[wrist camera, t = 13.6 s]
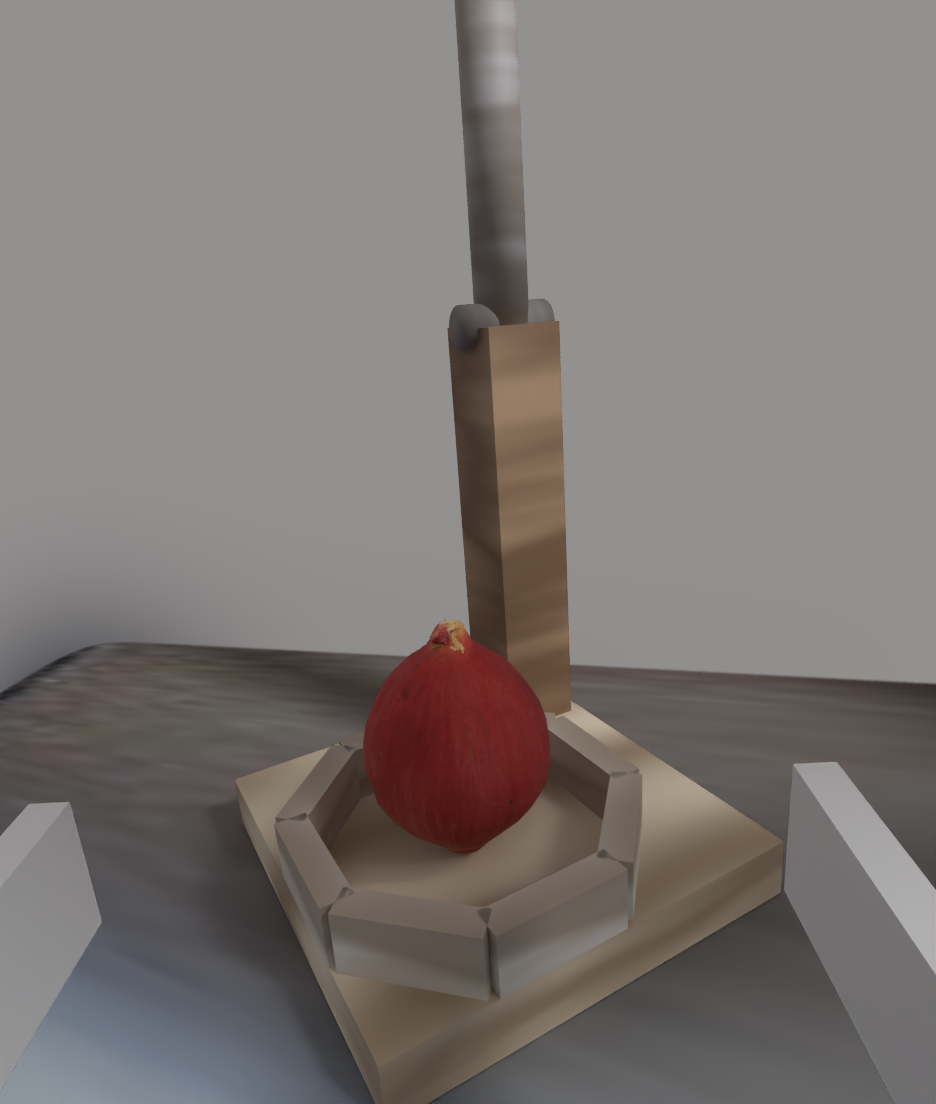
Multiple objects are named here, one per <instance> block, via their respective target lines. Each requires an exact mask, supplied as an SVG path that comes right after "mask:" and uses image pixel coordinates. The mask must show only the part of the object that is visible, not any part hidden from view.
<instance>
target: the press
mask: <svg viewBox="0 0 936 1104" xmlns="http://www.w3.org/2000/svg"><path fill="white" fill-rule="evenodd" d="M455 14H456V27H457V28H456V29H457V45H458V61H459V77H460V92H461V107H462V124H463V139H464V156H465V171H466V186H467V202H468V219H469V235H470V250H471V266H472V282H473V298H474V304H467V305H457V306H455V307H454V308H453V310H452V312H451V315H450V320H449V328H448V340H449V354H450V367H451V380H452V394H453V406H454V407H453V408H454V421H455V434H456V448H457V460H458V475H459V488H460V502H461V515H462V528H463V543H464V555H465V570H466V583H467V597H468V610H469V624H470V637H471V639H472V640H473V641H474V642H477V643H479V644H481V645H483V646H485V647H486V648H488V649H490V650H492V651H494V652H495V653H497V654H499V655H501V656H502V657H503V658H504V659H506V660H507V661H508V662H509V663H511V665H512V666H513V667H514V668H515V669H516V670H517V671H518V672H519V673H520V674H521V675H522V677H523V678H524V679H525V680H526V682H527V683H528V684H529V685H530V687H531V688H532V690H533V691H534V693H535V694H536V696H537V697H538V699H539V700H540V703H541V705H542V708H543V711H544V714H545V716H546V719H547V726H548V733H549V739H550V765H549V770H548V775H547V780H546V785H545V787H544V789H543V791H542V792H541V794H540V795H539V797H538V798H537V800H536V801H535V803H534V804H533V806H532V807H531V808H530V809H529V811H528V812H527V813H526V814H525V815H524V816H523V817H522V818H521V819H520V820H519V821H518V822H517V823H515V824H514V825H512V826H511V827H510V828H508V829H507V830H505V831H504V832H502V833H501V834H500V835H498V836H497V837H495V838H494V839H492V840H491V841H489V842H488V843H487V844H486V845H484V846H483V847H482V848H481V849H479V850H478V851H476V852H473V853H469V854H455V853H453V852H451V851H449V850H447V849H446V848H445V847H443V846H439V845H436V844H433V843H430V842H427V841H424V840H421V839H419V838H417V837H415V836H413V835H411V834H409V833H408V832H406V831H405V830H404V829H402V828H401V827H400V826H398V825H397V824H396V823H394V822H393V821H392V820H391V819H390V818H389V816H388V815H387V814H386V813H385V812H384V811H383V809H382V808H381V807H380V806H379V805H378V802H377V799H376V796H375V794H374V791H373V788H372V785H371V782H370V780H369V777H368V774H367V772H366V769H365V766H364V754H363V739H364V733H365V732H362V733H359V734H356V735H353V736H350V737H347V738H344V739H341V740H339V744H337V745H331V746H330V747H328V748H325V749H322V750H319V751H316V752H313V753H310V754H307V755H304V756H301V757H299V758H296V759H293V760H290V761H287V762H284V763H281V764H278V765H275V766H272V767H269V768H266V769H263V770H261V771H258V772H255V773H252V774H249V775H246V776H243V777H240V778H237V779H235V785H236V790H237V795H238V800H239V806H240V811H241V816H242V822H243V824H244V827H245V829H246V831H247V833H248V835H249V837H250V839H251V841H252V844H253V846H254V848H255V850H256V852H257V854H258V856H259V858H260V860H261V863H262V865H263V867H264V869H265V871H266V873H267V875H268V877H269V880H270V882H271V884H272V886H273V888H274V890H275V892H276V894H277V896H278V899H279V901H280V903H281V905H282V907H283V909H284V911H285V913H286V916H287V918H288V920H289V922H290V924H291V926H292V928H293V930H294V932H295V935H296V937H297V939H298V941H299V943H300V945H301V947H302V949H303V952H304V954H305V956H306V958H307V960H308V962H309V964H310V966H311V968H312V971H313V973H314V975H315V977H316V979H317V981H318V983H319V985H320V988H321V990H322V992H323V994H324V996H325V998H326V1000H327V1002H328V1004H329V1007H330V1009H331V1011H332V1013H333V1015H334V1017H335V1019H336V1021H337V1024H338V1026H339V1028H340V1030H341V1032H342V1034H343V1036H344V1038H345V1040H346V1043H347V1045H348V1047H349V1049H350V1051H351V1053H352V1055H353V1057H354V1060H355V1062H356V1064H357V1066H358V1068H359V1070H360V1072H361V1074H362V1076H363V1079H364V1081H365V1083H366V1085H367V1087H368V1089H369V1091H370V1093H371V1096H372V1098H373V1100H374V1102H375V1104H428V1103H430V1102H431V1101H433V1100H435V1099H436V1098H438V1097H440V1096H441V1095H443V1094H445V1093H446V1092H448V1091H450V1090H451V1089H453V1088H455V1087H456V1086H458V1085H460V1084H461V1083H463V1082H465V1081H466V1080H468V1079H470V1078H471V1077H473V1076H475V1075H476V1074H478V1073H480V1072H481V1071H483V1070H485V1069H486V1068H488V1067H490V1066H491V1065H493V1064H495V1063H497V1062H498V1061H500V1060H502V1059H503V1058H505V1057H507V1056H508V1055H510V1054H512V1053H513V1052H515V1051H517V1050H518V1049H520V1048H522V1047H523V1046H525V1045H527V1044H528V1043H530V1042H532V1041H533V1040H535V1039H537V1038H538V1037H540V1036H542V1035H543V1034H545V1033H547V1032H548V1031H550V1030H552V1029H553V1028H555V1027H557V1026H558V1025H560V1024H562V1023H563V1022H565V1021H567V1020H568V1019H570V1018H572V1017H573V1016H575V1015H577V1014H578V1013H580V1012H582V1011H584V1010H585V1009H587V1008H589V1007H590V1006H592V1005H594V1004H595V1003H597V1002H599V1001H600V1000H602V999H604V998H605V997H607V996H609V995H610V994H612V993H614V992H615V991H617V990H619V989H620V988H622V987H624V986H625V985H627V984H629V983H630V982H632V981H634V980H635V979H637V978H639V977H640V976H642V975H644V974H645V973H647V972H649V971H650V970H652V969H654V968H655V967H657V966H659V965H660V964H662V963H664V962H665V961H667V960H669V959H671V958H672V957H674V956H676V955H677V954H679V953H681V952H682V951H684V950H686V949H687V948H689V947H691V946H692V945H694V944H696V943H697V942H699V941H701V940H702V939H704V938H706V937H707V936H709V935H711V934H712V933H714V932H716V931H717V930H719V929H721V928H722V927H724V926H726V925H727V924H729V923H731V922H732V921H734V920H736V919H737V918H739V917H741V916H742V915H744V914H746V913H747V912H749V911H751V910H753V909H754V908H756V907H758V906H759V905H761V904H763V903H764V902H766V901H768V900H769V899H771V898H773V897H774V896H776V895H778V894H779V893H781V881H782V867H783V852H784V841H783V840H781V839H780V838H778V837H777V836H775V835H774V834H772V833H771V832H769V831H768V830H766V829H765V828H763V827H762V826H760V825H759V824H757V823H756V822H754V821H752V820H751V819H749V818H748V817H746V816H745V815H743V814H742V813H740V812H739V811H737V810H736V809H734V808H733V807H731V806H730V805H728V804H727V803H725V802H724V801H722V800H721V799H719V798H718V797H716V796H715V795H713V794H712V793H710V792H709V791H707V790H705V789H704V788H702V787H701V786H699V785H698V784H696V783H695V782H693V781H692V780H690V779H689V778H687V777H686V776H684V775H683V774H681V773H680V772H678V771H677V770H675V769H674V768H672V767H671V766H669V765H668V764H666V763H665V762H663V761H662V760H660V759H659V758H657V757H655V756H654V755H652V754H651V753H649V752H648V751H646V750H645V749H643V748H642V747H640V746H639V745H637V744H636V743H634V742H633V741H631V740H630V739H628V738H627V737H625V736H624V735H622V734H621V733H619V732H618V731H616V730H615V729H613V728H612V727H610V726H608V725H607V724H605V723H604V722H602V721H601V720H599V719H598V718H596V717H595V716H593V715H592V714H590V713H589V712H587V711H586V710H584V709H583V708H581V707H580V706H578V705H577V704H575V703H574V702H572V701H571V689H570V657H569V625H568V595H567V594H568V592H567V560H566V531H565V530H566V528H565V496H564V464H563V432H562V431H563V430H562V400H561V368H560V367H561V366H560V333H559V321H554V313H553V309H552V307H551V305H550V304H549V302H548V301H546V300H545V299H533V300H528V284H527V283H528V282H527V260H526V235H525V212H524V189H523V165H522V142H521V118H520V95H519V73H518V72H519V70H518V49H517V48H518V47H517V24H516V0H455Z"/></svg>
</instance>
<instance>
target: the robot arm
mask: <svg viewBox="0 0 936 1104" xmlns="http://www.w3.org/2000/svg"><path fill="white" fill-rule="evenodd" d="M784 891H785V893H786V895H787V897H788V899H789V901H790V903H791V904H792V906H793V908H794V910H795V912H796V914H797V916H798V918H799V920H800V922H801V924H802V926H803V928H804V930H805V931H806V933H807V935H808V937H809V939H810V941H811V943H812V945H813V947H814V949H815V951H816V953H817V955H818V957H819V958H820V960H821V962H822V964H823V966H824V968H825V970H826V972H827V974H828V976H829V978H830V980H831V982H832V983H833V985H834V987H835V989H836V991H837V993H838V995H839V997H840V999H841V1001H842V1003H843V1005H844V1007H845V1009H846V1010H847V1012H848V1014H849V1016H850V1018H851V1020H852V1022H853V1024H854V1026H855V1028H856V1030H857V1032H858V1034H859V1036H860V1037H861V1039H862V1041H863V1043H864V1045H865V1047H866V1049H867V1051H868V1053H869V1055H870V1057H871V1059H872V1061H873V1063H874V1064H875V1066H876V1068H877V1070H878V1072H879V1074H880V1076H881V1078H882V1080H883V1082H884V1084H885V1086H886V1088H887V1089H888V1091H889V1093H890V1095H891V1097H892V1099H893V1101H894V1103H895V1104H936V889H935V888H934V887H933V886H932V884H931V883H930V882H929V880H928V879H927V878H926V877H925V875H924V874H923V873H922V871H921V870H920V869H919V868H918V866H917V865H916V864H915V862H914V861H913V860H912V859H911V857H910V856H909V855H908V853H907V852H906V851H905V849H904V848H903V847H902V846H901V844H900V843H899V842H898V840H897V839H896V838H895V837H894V835H893V834H892V833H891V831H890V830H889V829H888V828H887V826H886V825H885V824H884V822H883V821H882V820H881V819H880V817H879V816H878V815H877V813H876V812H875V811H874V809H873V808H872V807H871V806H870V804H869V803H868V802H867V800H866V799H865V798H864V797H863V795H862V794H861V793H860V791H859V790H858V789H857V788H856V786H855V785H854V784H853V782H852V781H851V780H850V779H849V777H848V776H847V775H846V773H845V772H844V771H843V770H842V768H841V767H840V766H839V764H838V763H837V762H822V763H803V764H793V770H792V784H791V798H790V812H789V826H788V840H787V854H786V868H785V882H784ZM101 923H102V920H101V916H100V913H99V909H98V905H97V901H96V898H95V894H94V890H93V887H92V883H91V879H90V875H89V872H88V868H87V864H86V860H85V857H84V853H83V849H82V846H81V842H80V838H79V834H78V831H77V827H76V823H75V819H74V816H73V812H72V808H71V805H70V802H56V803H37V804H28V805H27V807H26V808H25V809H24V810H23V811H22V812H21V813H20V814H19V816H18V817H17V818H16V819H15V820H14V821H13V822H12V824H11V825H10V826H9V827H8V828H7V829H6V830H5V831H4V833H3V834H2V835H1V836H0V1091H1V1090H2V1088H3V1086H4V1085H5V1083H6V1081H7V1080H8V1078H9V1076H10V1075H11V1073H12V1071H13V1070H14V1068H15V1066H16V1065H17V1063H18V1061H19V1060H20V1058H21V1056H22V1055H23V1053H24V1051H25V1050H26V1048H27V1046H28V1045H29V1043H30V1041H31V1040H32V1038H33V1036H34V1035H35V1033H36V1031H37V1030H38V1028H39V1026H40V1025H41V1023H42V1021H43V1020H44V1018H45V1016H46V1015H47V1013H48V1011H49V1010H50V1008H51V1006H52V1005H53V1003H54V1001H55V1000H56V998H57V996H58V995H59V993H60V991H61V990H62V988H63V986H64V985H65V983H66V981H67V980H68V978H69V976H70V975H71V973H72V971H73V970H74V968H75V966H76V965H77V963H78V961H79V960H80V958H81V956H82V955H83V953H84V951H85V950H86V948H87V946H88V945H89V943H90V941H91V940H92V938H93V936H94V935H95V933H96V931H97V930H98V928H99V926H100V925H101Z"/></svg>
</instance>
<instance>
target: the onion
mask: <svg viewBox="0 0 936 1104" xmlns="http://www.w3.org/2000/svg"><path fill="white" fill-rule="evenodd" d="M363 754H364V766H365V769H366V772H367V774H368V777H369V780H370V782H371V785H372V788H373V791H374V794H375V796H376V799H377V802H378V805H379V806H380V807H381V808H382V809H383V811H384V812H385V813H386V814H387V815H388V816H389V818H390V819H391V820H392V821H393V822H394V823H396V824H397V825H398V826H400V827H401V828H402V829H404V830H405V831H406V832H408V833H409V834H411V835H413V836H415V837H417V838H419V839H421V840H424V841H427V842H430V843H433V844H436V845H439V846H443V847H445V848H446V849H447V850H449V851H451V852H453V853H455V854H469V853H473V852H476V851H478V850H479V849H481V848H482V847H483V846H484V845H486V844H487V843H488V842H489V841H491V840H492V839H494V838H495V837H497V836H498V835H500V834H501V833H502V832H504V831H505V830H507V829H508V828H510V827H511V826H512V825H514V824H515V823H517V822H518V821H519V820H520V819H521V818H522V817H523V816H524V815H525V814H526V813H527V812H528V811H529V809H530V808H531V807H532V806H533V804H534V803H535V801H536V800H537V798H538V797H539V795H540V794H541V792H542V791H543V789H544V787H545V785H546V780H547V775H548V770H549V765H550V739H549V733H548V726H547V719H546V716H545V714H544V711H543V708H542V705H541V703H540V700H539V699H538V697H537V696H536V694H535V693H534V691H533V690H532V688H531V687H530V685H529V684H528V683H527V682H526V680H525V679H524V678H523V677H522V675H521V674H520V673H519V672H518V671H517V670H516V669H515V668H514V667H513V666H512V665H511V663H509V662H508V661H507V660H506V659H504V658H503V657H502V656H501V655H499V654H497V653H495V652H494V651H492V650H490V649H488V648H486V647H485V646H483V645H481V644H479V643H477V642H474V641H473V640H472V639H471V638H470V636H469V635H468V633H467V632H466V630H465V628H464V624H463V623H462V622H460V621H455V620H443V621H442V622H440V623H439V624H438V625H437V626H436V628H435V629H434V631H433V632H432V634H431V636H430V640H429V641H428V642H427V644H426V645H424V646H423V647H422V648H421V649H419V650H417V651H416V652H414V653H412V654H411V655H410V656H408V657H407V658H406V659H405V660H404V661H403V662H402V663H401V664H400V665H399V666H398V667H396V668H395V669H394V670H393V671H392V672H391V674H390V675H389V676H388V678H387V679H386V680H385V682H384V683H383V685H382V687H381V688H380V690H379V692H378V693H377V695H376V698H375V701H374V703H373V706H372V709H371V711H370V714H369V717H368V720H367V723H366V726H365V733H364V739H363Z"/></svg>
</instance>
